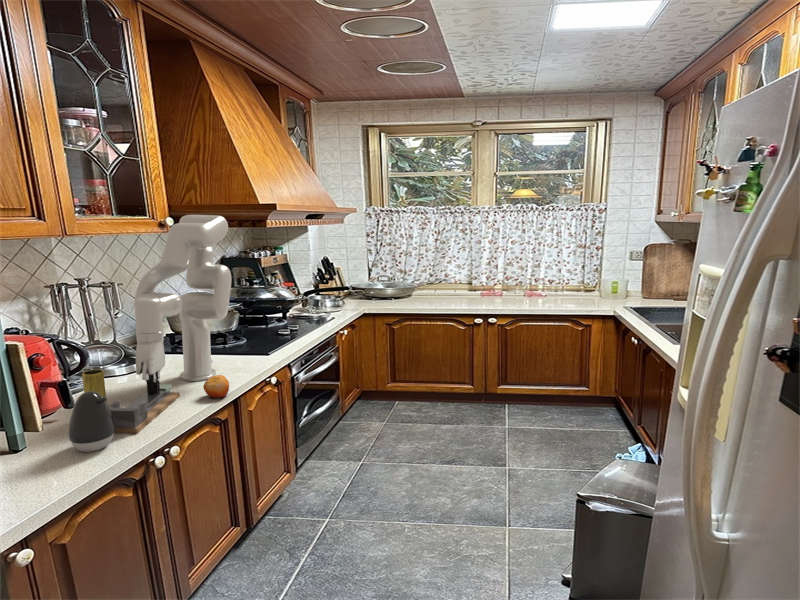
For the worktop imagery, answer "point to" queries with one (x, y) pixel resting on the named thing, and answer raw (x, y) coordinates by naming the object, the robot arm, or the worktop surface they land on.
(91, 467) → the worktop surface
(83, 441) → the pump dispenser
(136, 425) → the stand
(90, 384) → the vase
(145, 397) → the arm
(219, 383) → the fruit
